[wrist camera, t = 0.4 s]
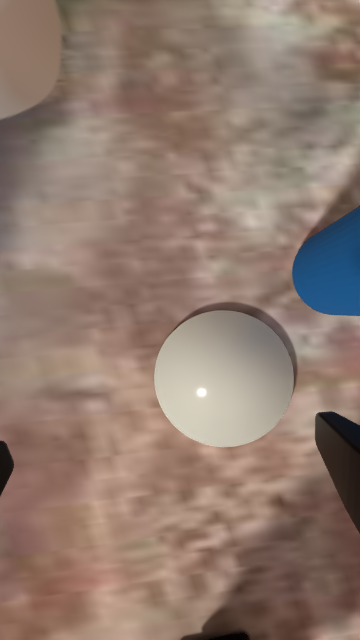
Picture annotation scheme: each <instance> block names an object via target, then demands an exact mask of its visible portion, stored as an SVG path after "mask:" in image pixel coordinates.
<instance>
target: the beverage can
mask: <svg viewBox="0 0 360 640" xmlns="http://www.w3.org/2000/svg"><path fill="white" fill-rule="evenodd" d="M292 278H293V283H294V287H295V289H296V291H297V293H298V295H299V296H300V298H301V299H302V300H303V301H304V303H306V304H307V305H308V306H309V307H311V308H312V309H314V310H316V311H318V312H321V313H324V314H329V315H348V316H360V206H359V207H358V208H356V209H355V210H353V211H351V212H350V213H348V214H347V215H345V216H344V217H342V218H340V219H339V220H337V221H336V222H334V223H333V224H331V225H329V226H328V227H326V228H325V229H323V230H321V231H320V232H318V233H317V234H315V235H314V236H312V237H311V238H309V239H308V240H307V241H306V242H305V243H304V244H303V245H302V247H301V248H300V249H299V251H298V253H297V255H296V257H295V260H294V263H293V269H292Z"/></svg>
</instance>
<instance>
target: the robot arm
mask: <svg viewBox="0 0 360 640" xmlns="http://www.w3.org/2000/svg"><path fill="white" fill-rule="evenodd" d="M315 441H316V445H317V447H318V450H319V452H320V454H321V456H322V458H323V461H324V463H325V465H326V467H327V469H328V471H329V474H330V476H331V478H332V480H333V482H334V485H335V487H336V489H337V491H338V493H339V496H340V498H341V500H342V502H343V504H344V506H345V508H346V510H347V512H348V514H349V515H350V517H351V519H352V521H353V523H354V524H355V526H356V528H357V530H358V531H359V533H360V425H358V424H356V423H354V422H352V421H350V420H348V419H347V418H345V417H343V416H341V415H339V414H337V413H335V412H331V411H330V412H319V413H317V414H316V417H315ZM13 468H14V461H13V459H12V456H11V454H10V451H9V449H8V446H7V444H6V443H5V442H4V441H0V496H1V494H2V492H3V490H4V488H5V486H6V484H7V481H8V479H9V477H10V475H11V473H12V471H13ZM209 640H250V638H249V636H248V635H247V634H246V633H239V634H234V635H229V636H224V637H219V638H214V639H209Z"/></svg>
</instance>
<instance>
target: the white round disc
mask: <svg viewBox="0 0 360 640" xmlns="http://www.w3.org/2000/svg"><path fill="white" fill-rule="evenodd" d="M154 383H155V390H156V395H157V398H158V401H159V404H160V406H161V408H162V410H163V412H164V414H165V415H166V416H167V418H168V419H169V421H170V422H171V423H172V424H173V425H174V426H175V427H176V428H177V429H178V430H179V431H181V432H182V433H183V434H185V435H186V436H188V437H189V438H191V439H193V440H195V441H197V442H200V443H203V444H206V445H210V446H216V447H234V446H239V445H244V444H247V443H250V442H252V441H254V440H257V439H259V438H260V437H262V436H263V435H265V434H266V433H268V432H269V431H270V430H271V429H272V428H274V427H275V425H276V424H277V423H278V422H279V421H280V420H281V418H282V417H283V415H284V414H285V412H286V410H287V408H288V406H289V403H290V400H291V397H292V392H293V387H294V374H293V366H292V362H291V359H290V356H289V353H288V351H287V349H286V347H285V345H284V344H283V342H282V341H281V339H280V338H279V337H278V335H277V334H276V333H275V332H274V331H273V330H272V329H271V328H270V327H268V326H267V325H266V324H265V323H263V322H261V321H260V320H258V319H256V318H254V317H252V316H250V315H247V314H244V313H240V312H236V311H227V310H218V311H210V312H206V313H202V314H199V315H196V316H194V317H192V318H190V319H188V320H186V321H185V322H184V323H182V324H181V325H180V326H178V327H177V328H176V329H175V330H174V331H173V332H172V333H171V334H170V336H169V337H168V338H167V339H166V341H165V343H164V344H163V346H162V348H161V350H160V352H159V355H158V358H157V361H156V366H155V372H154Z"/></svg>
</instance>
